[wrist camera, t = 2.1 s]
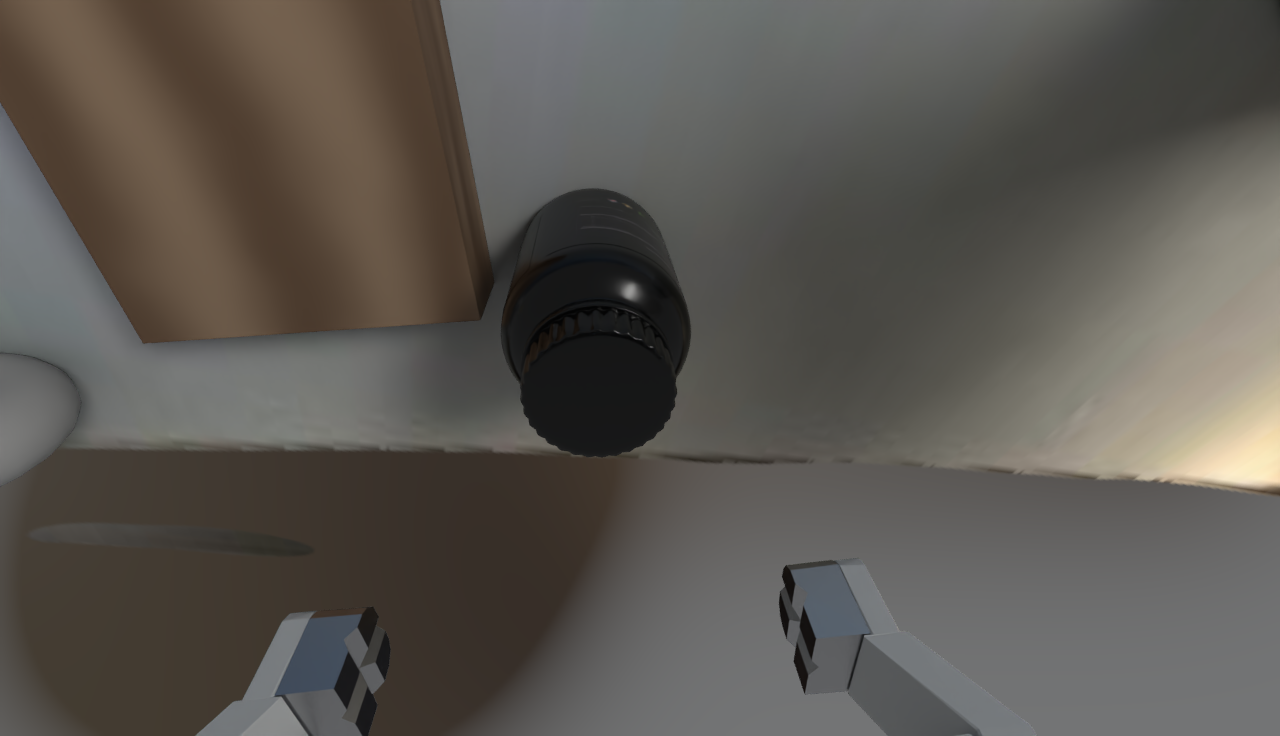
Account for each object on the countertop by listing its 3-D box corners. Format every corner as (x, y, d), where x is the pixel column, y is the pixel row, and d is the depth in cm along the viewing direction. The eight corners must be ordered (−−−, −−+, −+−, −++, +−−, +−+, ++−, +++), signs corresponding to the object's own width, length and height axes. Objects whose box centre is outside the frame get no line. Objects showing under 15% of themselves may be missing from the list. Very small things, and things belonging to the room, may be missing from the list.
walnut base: (422, -84, 20) (388, -104, 17) (494, 282, 27) (480, 320, 24) (12, -67, 19) (-109, -82, 16) (199, 302, 27) (143, 343, 24)
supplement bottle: (630, 337, 30) (648, 507, 20) (503, 290, 28) (451, 449, 18) (691, 220, 27) (751, 349, 16) (554, 156, 25) (526, 258, 14)
